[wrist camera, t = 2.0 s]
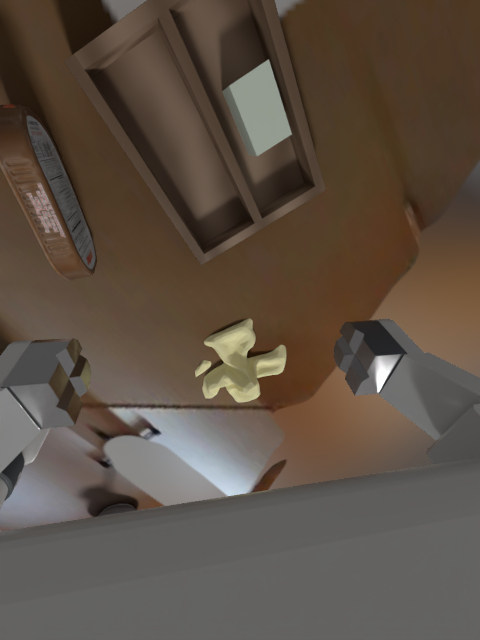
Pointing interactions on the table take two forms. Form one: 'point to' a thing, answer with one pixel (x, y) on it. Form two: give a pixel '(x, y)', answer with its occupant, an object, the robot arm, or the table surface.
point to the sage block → (258, 110)
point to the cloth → (239, 363)
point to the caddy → (200, 114)
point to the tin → (45, 192)
